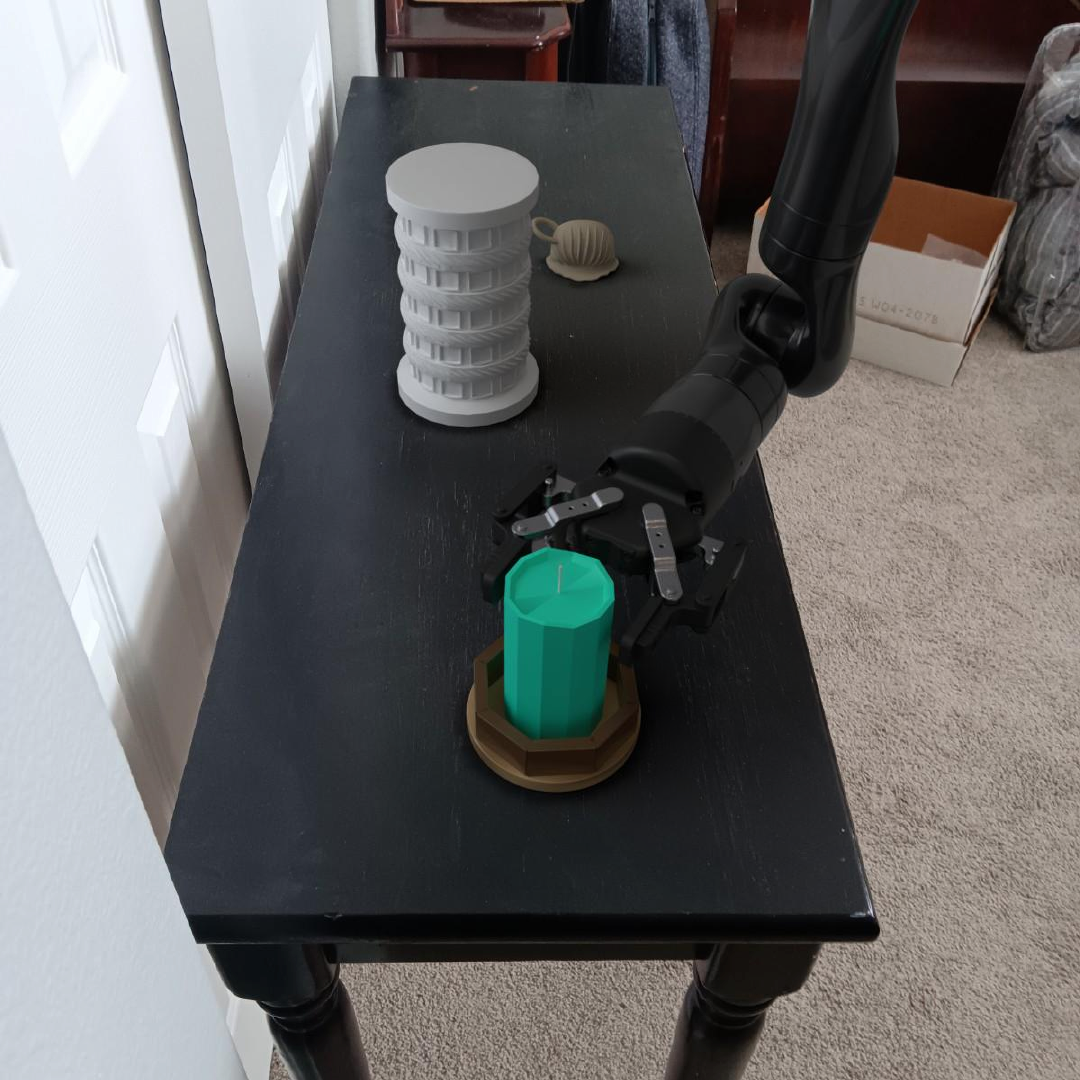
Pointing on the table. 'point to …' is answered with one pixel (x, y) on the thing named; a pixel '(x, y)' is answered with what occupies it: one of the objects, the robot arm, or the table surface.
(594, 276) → the decorative ornament
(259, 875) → the table surface
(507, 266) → the decorative container
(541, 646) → the candle
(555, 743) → the candle pad
